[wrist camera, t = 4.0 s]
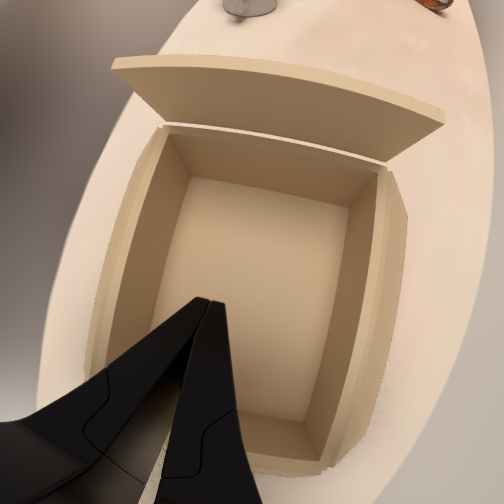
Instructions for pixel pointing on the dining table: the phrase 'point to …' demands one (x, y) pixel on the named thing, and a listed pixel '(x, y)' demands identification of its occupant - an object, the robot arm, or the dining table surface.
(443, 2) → the tin
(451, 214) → the dining table surface
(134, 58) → the flap
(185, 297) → the carton
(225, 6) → the cup
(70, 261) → the dining table surface
